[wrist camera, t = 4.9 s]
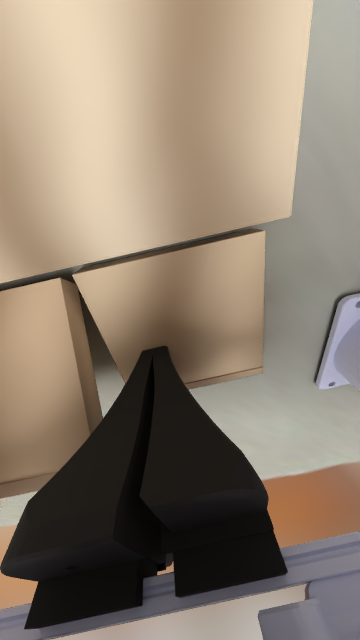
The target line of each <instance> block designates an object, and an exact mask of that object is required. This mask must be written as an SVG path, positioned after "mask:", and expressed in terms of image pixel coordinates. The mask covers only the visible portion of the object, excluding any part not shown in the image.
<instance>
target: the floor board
mask: <svg viewBox="0 0 360 640" xmlns="http://www.w3.org/2000/svg"><path fill="white" fill-rule="evenodd" d="M312 8H313V0H0V283H4V282H9V281H13V280H17V279H22V278H26V277H30V276H35V275H39V274H43V273H48V272H52V271H56V270H61V269H65V268H70V267H74V266H78V265H83V264H87V263H91V262H96V261H100V260H104V259H109V258H113V257H117V256H122V255H126V254H130V253H135V252H139V251H144V250H148V249H152V248H157V247H161V246H165V245H170V244H174V243H178V242H183V241H187V240H191V239H196V238H200V237H205V236H209V235H213V234H218V233H222V232H226V231H231V230H235V229H239V228H244V227H248V226H252V225H257V224H261V223H265V222H270V221H274V220H279V219H283V218H287V217H291V210H292V201H293V191H294V181H295V172H296V162H297V153H298V143H299V133H300V124H301V114H302V104H303V95H304V85H305V75H306V66H307V56H308V46H309V37H310V27H311V17H312Z"/></svg>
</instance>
